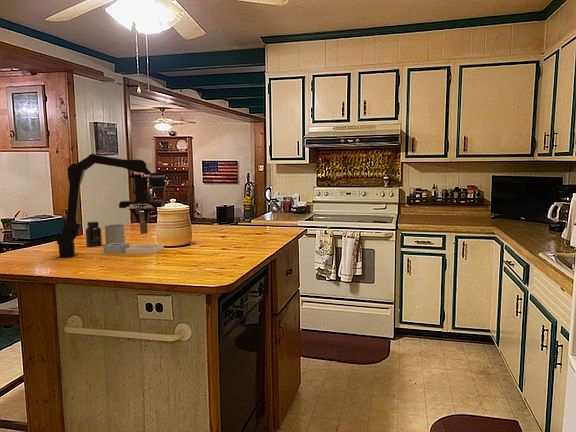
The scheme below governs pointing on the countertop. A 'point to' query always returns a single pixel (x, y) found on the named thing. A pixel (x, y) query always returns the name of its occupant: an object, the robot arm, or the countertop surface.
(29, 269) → the countertop surface
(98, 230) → the supplement bottle
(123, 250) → the grey square peg base
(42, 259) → the countertop surface
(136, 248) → the tray
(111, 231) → the cup
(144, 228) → the dowel
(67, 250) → the robot arm
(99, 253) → the countertop surface
